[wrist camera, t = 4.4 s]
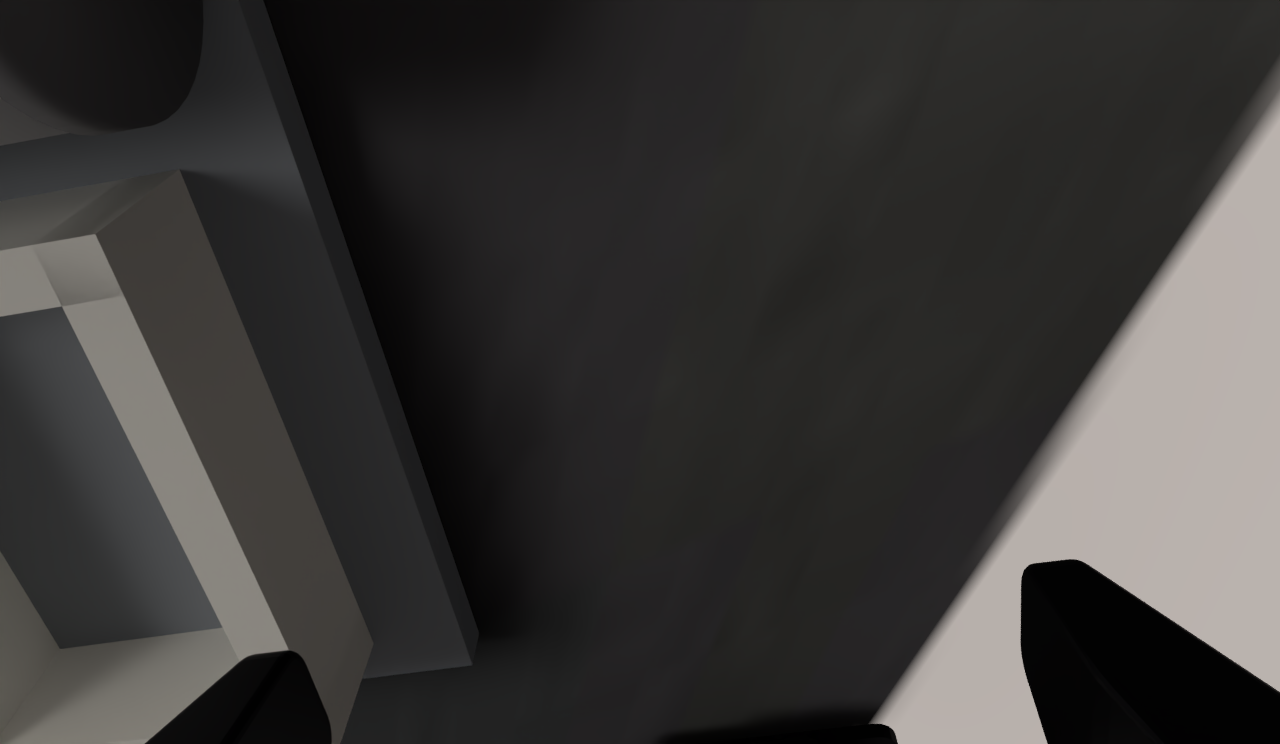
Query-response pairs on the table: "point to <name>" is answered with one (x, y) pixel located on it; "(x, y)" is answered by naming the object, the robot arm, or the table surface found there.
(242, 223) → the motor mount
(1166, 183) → the table surface
